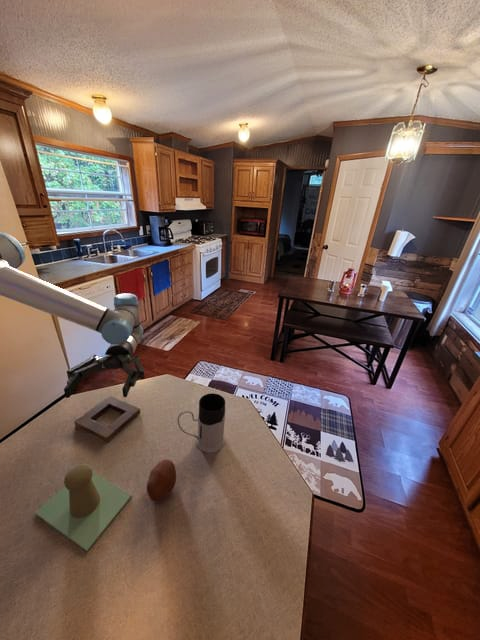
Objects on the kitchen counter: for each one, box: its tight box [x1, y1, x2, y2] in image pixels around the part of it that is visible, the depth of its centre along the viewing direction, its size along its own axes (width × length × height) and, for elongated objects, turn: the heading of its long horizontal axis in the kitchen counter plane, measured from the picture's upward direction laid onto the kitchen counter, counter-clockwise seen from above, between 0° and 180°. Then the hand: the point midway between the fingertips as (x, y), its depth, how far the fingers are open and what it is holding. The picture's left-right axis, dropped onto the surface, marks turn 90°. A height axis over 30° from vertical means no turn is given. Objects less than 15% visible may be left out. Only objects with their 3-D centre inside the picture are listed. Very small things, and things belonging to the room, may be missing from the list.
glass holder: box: [176, 392, 226, 454], centre depth 74 cm, size 9×14×15 cm, turn 112°
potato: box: [146, 458, 177, 503], centre depth 63 cm, size 7×9×6 cm
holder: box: [73, 395, 141, 444], centre depth 81 cm, size 13×13×2 cm
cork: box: [63, 463, 100, 518], centre depth 56 cm, size 6×6×11 cm
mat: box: [34, 471, 133, 553], centre depth 59 cm, size 16×12×1 cm
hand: (95, 393), depth 63 cm, fingers open, 13 cm apart
